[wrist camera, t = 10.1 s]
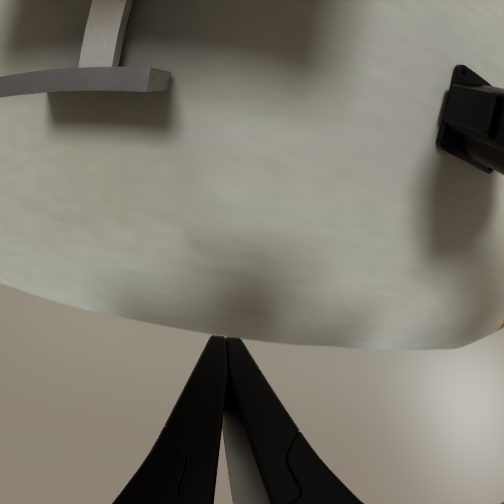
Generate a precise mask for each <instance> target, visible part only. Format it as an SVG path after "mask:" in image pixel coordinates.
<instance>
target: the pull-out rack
mask: <svg viewBox="0 0 504 504" xmlns="http://www.w3.org/2000/svg"><path fill="white" fill-rule="evenodd" d="M132 1H133V0H92V4H91V8H90V12H89V16H88V20H87V24H86V29H85V34H84V38H83V44H82V49H81V55H80V61H79V67H78V68H68V69H56V70H46V71H37V72H29V73H23V74H16V75H10V76H5V77H0V97H6V96H14V95H23V94H33V93H45V92H61V91H134V92H153V91H163V90H168V87H169V81H170V75H171V72H168V71H164V70H159V69H154V68H145V67H118V66H119V60H120V54H121V49H122V44H123V39H124V34H125V30H126V25H127V21H128V17H129V13H130V9H131V5H132Z"/></svg>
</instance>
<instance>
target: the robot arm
mask: <svg viewBox="0 0 504 504" xmlns="http://www.w3.org/2000/svg"><path fill="white" fill-rule="evenodd" d="M461 70H462V71H463V73H462V72H461ZM444 141H445V144H444V145H443V142H444ZM437 145H438V147H439V148H440V149H442V150H444V151H446V152H448V153H450V154H452V155H454V156H456V157H458V158H460V159H462V160H464V161H466V162H468V163H470V164H472V165H474V166H476V167H477V168H479V169H481V170H483V171H485V172H486V173H488V174H490V173H492V172H493V170H495V171H497V172H499V173H501V174H503V175H504V89H502V88H497V87H493V86H491V85H490V84H489V83H488V82H486V81H485V80H484V79H483V78H481V77H480V76H479V75H477V74H476V73H475V72H473V71H472V70H470V69H469V68H468V67H466V66H465V65H457V66H456V68H455V72H454V77H453V82H452V86H451V91H450V95H449V99H448V103H447V107H446V111H445V115H444V119H443V122H442V126H441V129H440V133H439V136H438V140H437ZM222 430H223V438H224V445H225V453H226V460H227V467H228V474H229V481H230V488H231V494H232V500H233V504H364V503H363V502H361V501H360V500H359V499H358V498H357V497H356V496H355V495H354V494H353V493H352V492H351V491H350V490H349V489H348V488H347V487H346V486H345V485H344V484H343V483H342V482H341V481H340V480H339V479H338V478H337V477H336V476H335V474H334V473H333V472H332V471H331V470H330V469H329V468H328V467H327V466H326V464H325V463H324V462H323V461H322V460H321V459H320V458H319V456H318V455H317V454H316V453H315V451H314V450H313V449H312V447H311V446H310V445H309V443H308V442H307V440H306V439H305V437H304V436H303V434H302V433H301V432H299V429H298V427H297V426H296V424H295V423H294V421H293V420H292V418H291V417H290V415H289V414H288V412H287V411H286V410H285V408H284V407H283V405H282V403H281V402H280V400H279V399H278V397H277V396H276V394H275V393H274V391H273V389H272V388H271V386H270V385H269V383H268V382H267V380H266V378H265V377H264V375H263V374H262V372H261V371H260V369H259V367H258V366H257V364H256V363H255V361H254V359H253V358H252V356H251V355H250V353H249V351H248V350H247V348H246V346H245V345H244V343H243V341H242V340H241V339H240V338H236V337H227V338H226V339H225V337H224V336H215V335H212V336H211V337H210V339H209V340H208V342H207V344H206V346H205V348H204V350H203V352H202V354H201V356H200V358H199V360H198V362H197V364H196V366H195V368H194V370H193V372H192V373H191V376H190V377H189V379H188V381H187V383H186V385H185V387H184V389H183V391H182V393H181V395H180V397H179V399H178V401H177V403H176V405H175V406H174V408H173V410H172V412H171V415H170V416H169V418H168V420H167V422H166V424H165V427H164V428H163V429H162V431H161V433H160V435H159V437H158V439H157V441H156V442H155V444H154V446H153V448H152V450H151V451H150V453H149V454H148V456H147V457H146V459H145V460H144V462H143V463H142V465H141V466H140V468H139V469H138V470H137V472H136V473H135V474H134V476H133V477H132V479H131V480H130V481H129V482H128V484H127V485H126V486H125V488H124V489H123V490H122V492H121V493H120V494H119V495H118V497H117V498H116V499H115V501H114V502H113V503H112V504H214V494H215V486H216V476H217V467H218V458H219V449H220V440H221V432H222ZM501 504H504V502H503V503H501Z"/></svg>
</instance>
